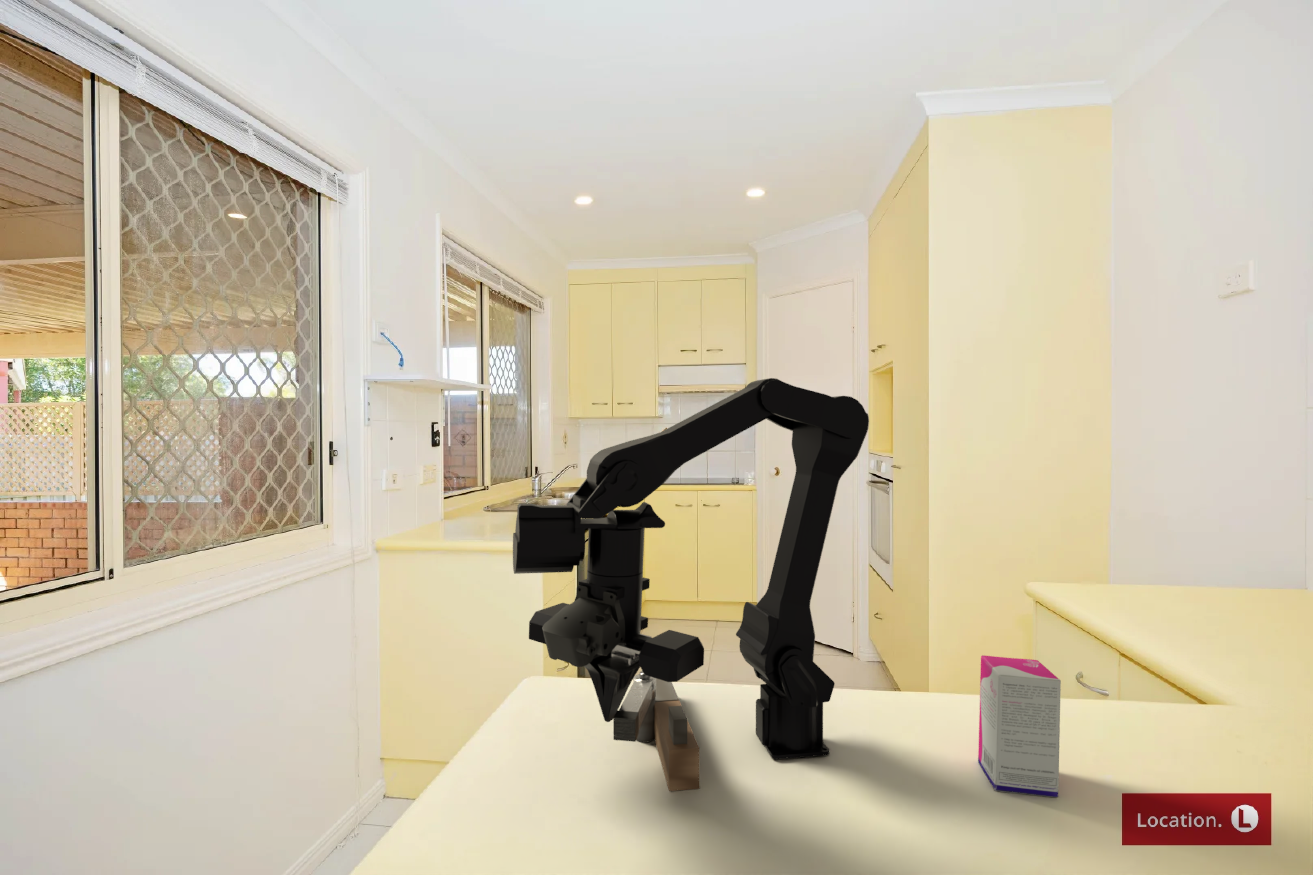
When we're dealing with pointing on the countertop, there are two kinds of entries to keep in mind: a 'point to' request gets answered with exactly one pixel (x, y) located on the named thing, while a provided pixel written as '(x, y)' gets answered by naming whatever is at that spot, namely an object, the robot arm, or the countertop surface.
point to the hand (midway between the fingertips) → (609, 720)
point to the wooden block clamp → (672, 738)
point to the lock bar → (634, 708)
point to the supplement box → (1019, 726)
